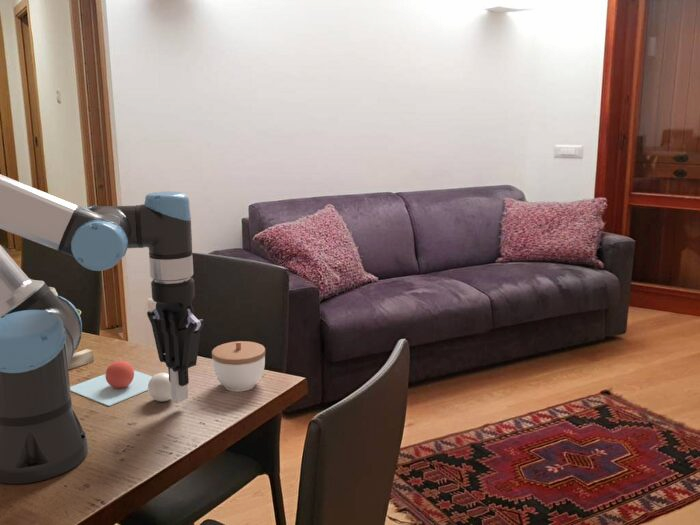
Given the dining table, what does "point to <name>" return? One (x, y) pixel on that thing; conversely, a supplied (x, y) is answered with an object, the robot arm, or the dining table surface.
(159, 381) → the cue ball
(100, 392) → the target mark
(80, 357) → the stopper strip
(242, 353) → the lidded jar
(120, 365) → the red ball
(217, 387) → the dining table surface
